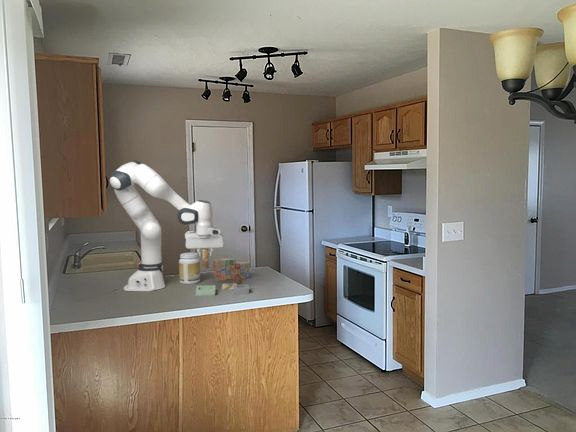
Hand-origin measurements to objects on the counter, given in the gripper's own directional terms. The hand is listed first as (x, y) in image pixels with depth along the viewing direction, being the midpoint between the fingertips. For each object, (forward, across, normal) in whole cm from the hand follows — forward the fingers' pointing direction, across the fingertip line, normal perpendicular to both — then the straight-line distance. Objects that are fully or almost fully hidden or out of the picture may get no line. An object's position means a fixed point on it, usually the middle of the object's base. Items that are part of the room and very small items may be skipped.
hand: (205, 256), depth 262 cm
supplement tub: (+20, -11, +27) cm, 36 cm away
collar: (+20, +19, +1) cm, 28 cm away
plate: (+21, +12, +9) cm, 26 cm away
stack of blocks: (+21, +13, +34) cm, 42 cm away
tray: (+20, 0, 0) cm, 20 cm away
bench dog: (+20, +18, +9) cm, 29 cm away
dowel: (+6, 0, 0) cm, 6 cm away
